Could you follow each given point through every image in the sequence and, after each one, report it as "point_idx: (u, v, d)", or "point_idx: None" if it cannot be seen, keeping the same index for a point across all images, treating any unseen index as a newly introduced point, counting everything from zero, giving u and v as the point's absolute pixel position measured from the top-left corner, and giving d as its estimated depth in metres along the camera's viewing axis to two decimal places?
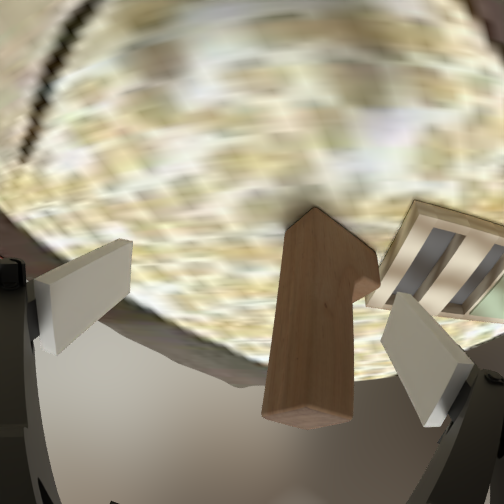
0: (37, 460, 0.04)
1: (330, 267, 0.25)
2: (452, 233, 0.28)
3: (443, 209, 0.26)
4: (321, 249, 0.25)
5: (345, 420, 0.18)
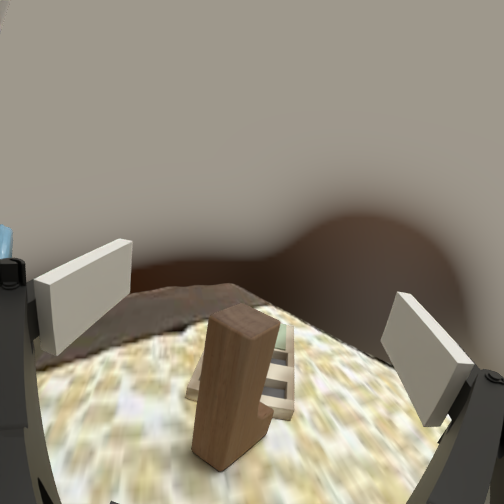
0: (37, 460, 0.04)
1: None
2: None
3: None
4: None
5: (240, 303, 0.29)
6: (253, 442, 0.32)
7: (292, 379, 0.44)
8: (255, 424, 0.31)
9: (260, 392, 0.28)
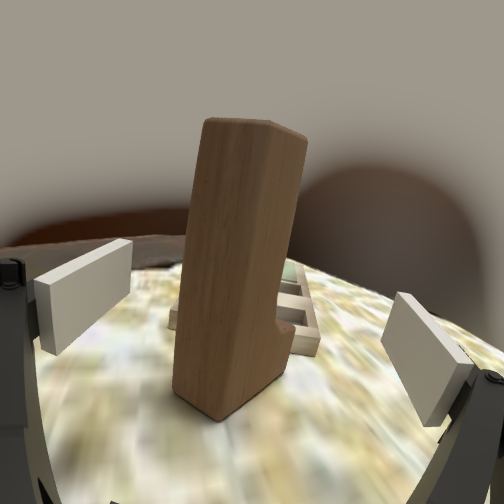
0: (37, 460, 0.04)
1: None
2: None
3: None
4: None
5: None
6: (267, 378, 0.23)
7: (311, 308, 0.35)
8: (272, 338, 0.21)
9: (281, 264, 0.19)
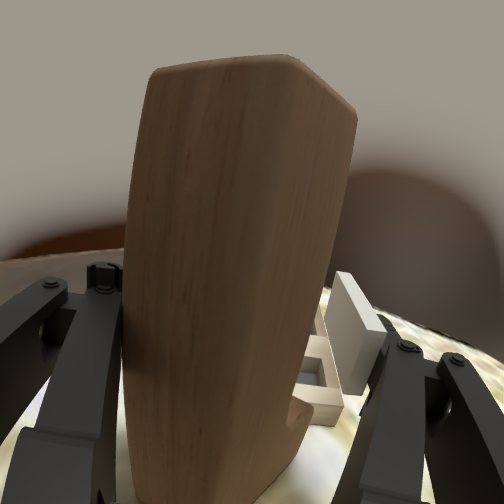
0: (102, 470, 0.04)
1: None
2: None
3: None
4: None
5: None
6: (272, 478, 0.14)
7: (328, 354, 0.26)
8: (280, 442, 0.12)
9: (302, 350, 0.10)
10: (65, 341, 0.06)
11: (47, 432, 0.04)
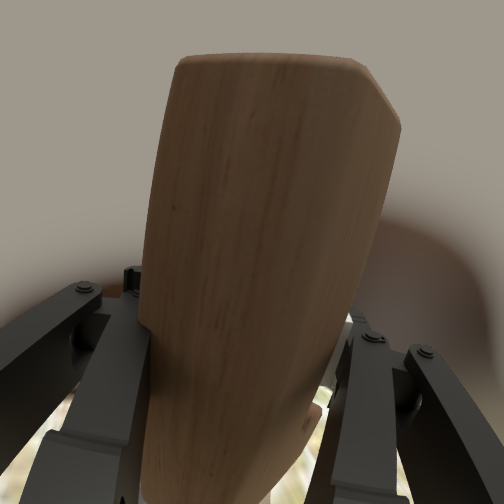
0: (127, 476, 0.04)
1: None
2: None
3: None
4: None
5: None
6: (278, 479, 0.14)
7: (266, 496, 0.20)
8: (292, 448, 0.12)
9: (326, 364, 0.09)
10: (98, 344, 0.07)
11: (73, 436, 0.04)
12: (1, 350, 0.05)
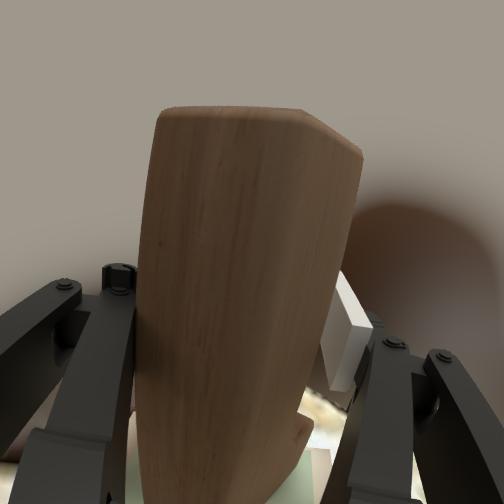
0: (112, 473, 0.04)
1: None
2: None
3: None
4: None
5: None
6: (274, 489, 0.14)
7: None
8: (283, 457, 0.12)
9: (306, 377, 0.10)
10: (78, 342, 0.07)
11: (58, 434, 0.04)
12: None
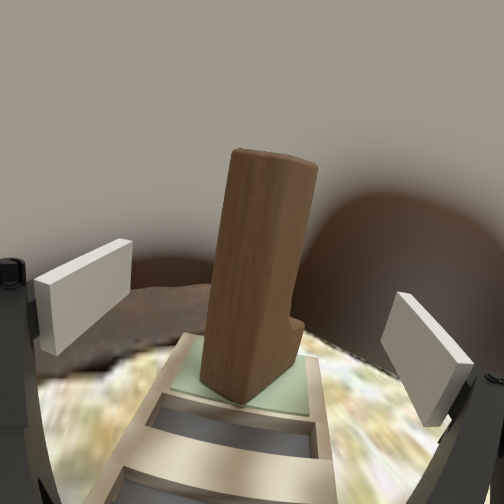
0: (37, 460, 0.04)
1: None
2: (143, 489, 0.15)
3: None
4: None
5: None
6: (281, 368, 0.27)
7: (332, 494, 0.15)
8: (286, 333, 0.25)
9: (295, 270, 0.23)
10: None
11: None
12: None
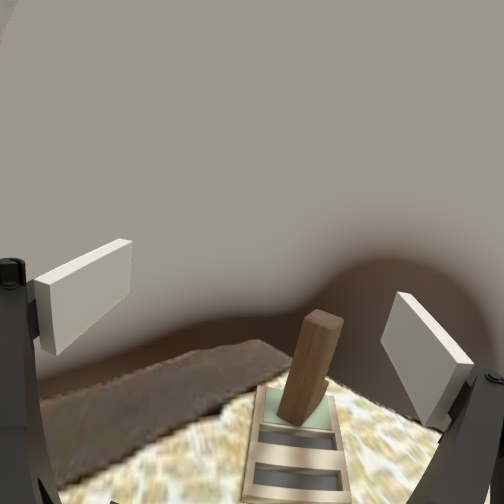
0: (37, 460, 0.04)
1: None
2: (262, 471, 0.36)
3: None
4: None
5: (316, 309, 0.45)
6: (316, 405, 0.48)
7: (344, 466, 0.37)
8: (321, 390, 0.47)
9: (328, 365, 0.44)
10: None
11: None
12: None
